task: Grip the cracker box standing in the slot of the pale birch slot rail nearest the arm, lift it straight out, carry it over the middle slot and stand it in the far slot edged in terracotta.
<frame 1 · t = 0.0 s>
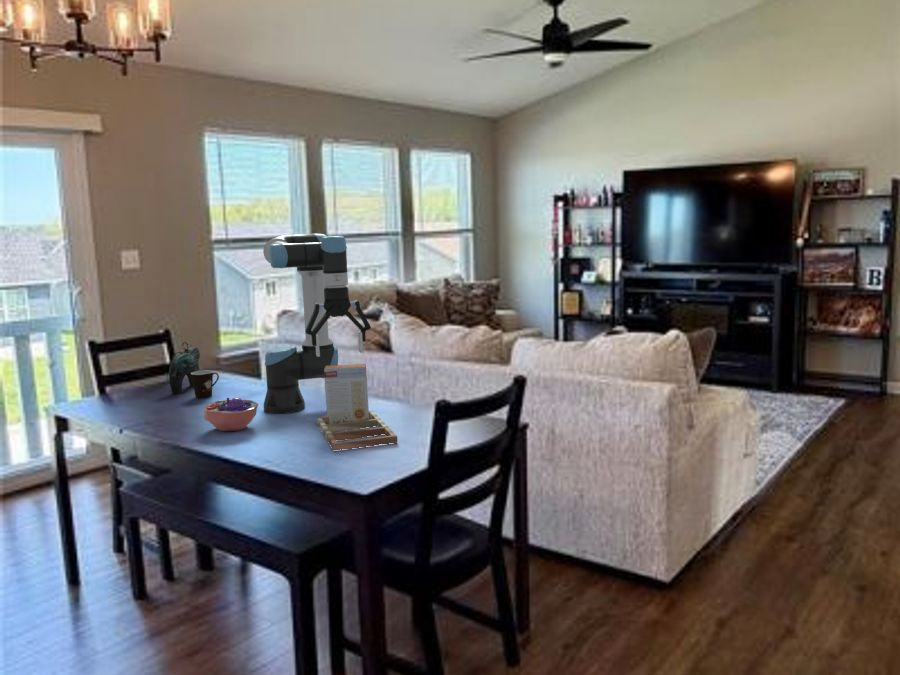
hand: (339, 354, 231), 28 cm above the table, tool pointing down, fingers open, 13 cm apart
slot rail: (355, 433, 243), on the table
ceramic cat: (187, 389, 316), on the table
cell model: (231, 429, 253), on the table
coffee mug: (207, 396, 302), on the table
cracker box: (348, 426, 253), resting in slot rail
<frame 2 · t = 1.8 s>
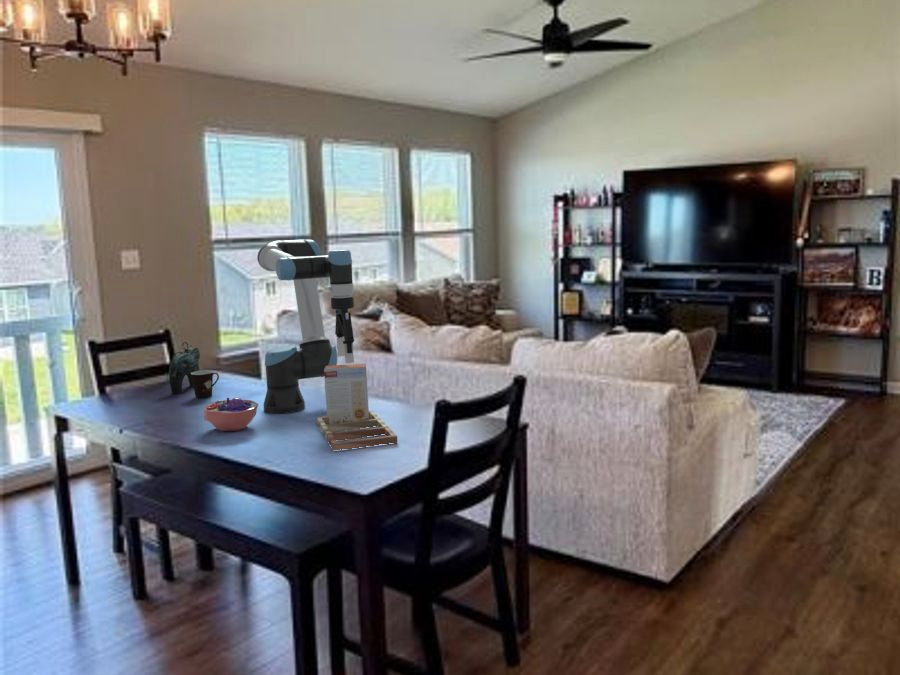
hand: (345, 359, 249), 23 cm above the table, tool pointing down, fingers open, 13 cm apart
nothing on the table moved.
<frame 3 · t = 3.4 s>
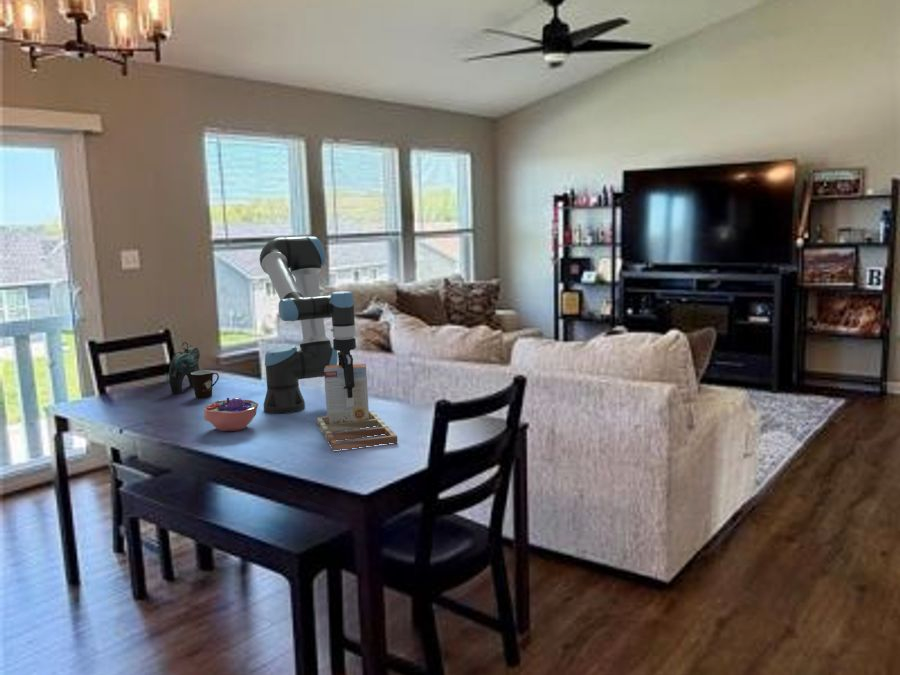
hand: (347, 403, 251), 8 cm above the table, tool pointing down, fingers open, 7 cm apart
cracker box: (348, 426, 253), resting in slot rail, touching gripper
everything else where it was.
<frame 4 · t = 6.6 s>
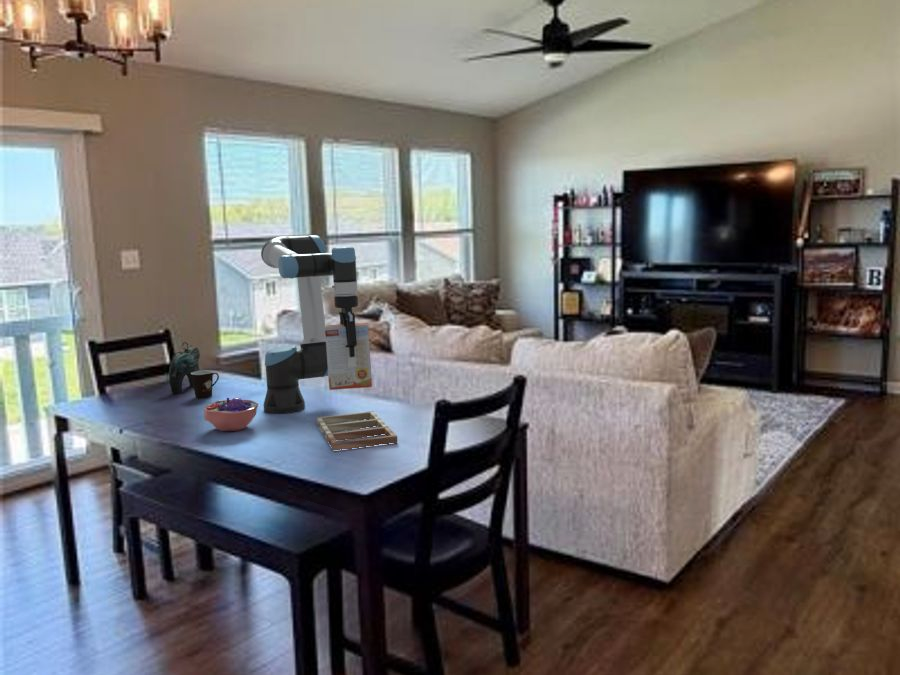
hand: (349, 364, 242), 23 cm above the table, tool pointing down, fingers closed on cracker box, 7 cm apart
cracker box: (350, 387, 244), point 15 cm above the table, touching gripper
everything else where it was.
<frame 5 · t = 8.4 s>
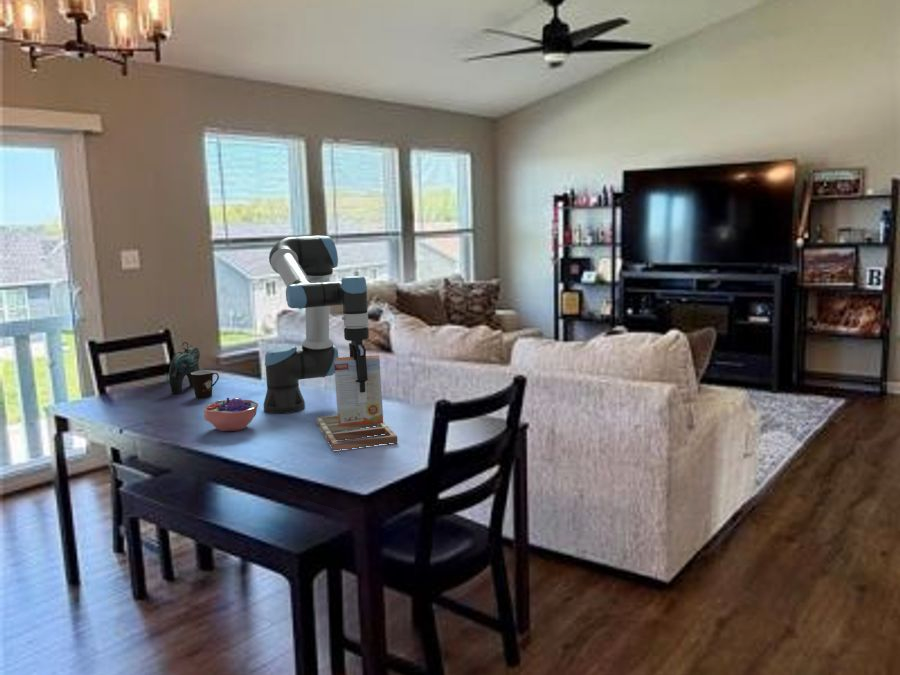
hand: (360, 399, 230), 14 cm above the table, tool pointing down, fingers closed on cracker box, 7 cm apart
cracker box: (360, 423, 232), point 6 cm above the table, touching gripper
everything else where it was.
when the fingers open (9 cm above the table, at t = 9.5 s): cracker box drops 1 cm, resting in slot rail.
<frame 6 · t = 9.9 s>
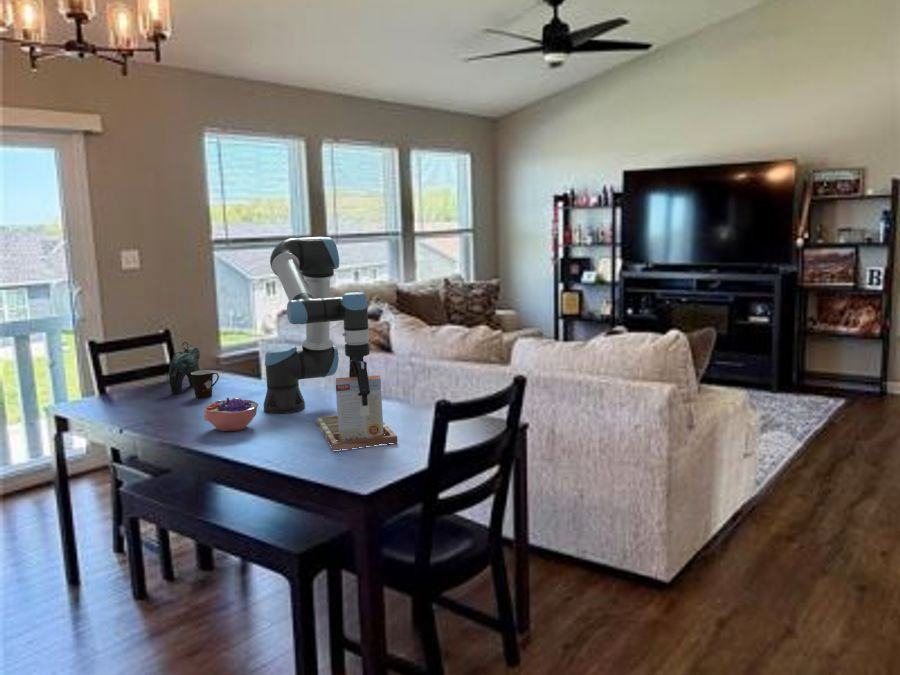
hand: (360, 410, 231), 10 cm above the table, tool pointing down, fingers open, 12 cm apart
cracker box: (361, 442, 233), resting in slot rail
everything else where it was.
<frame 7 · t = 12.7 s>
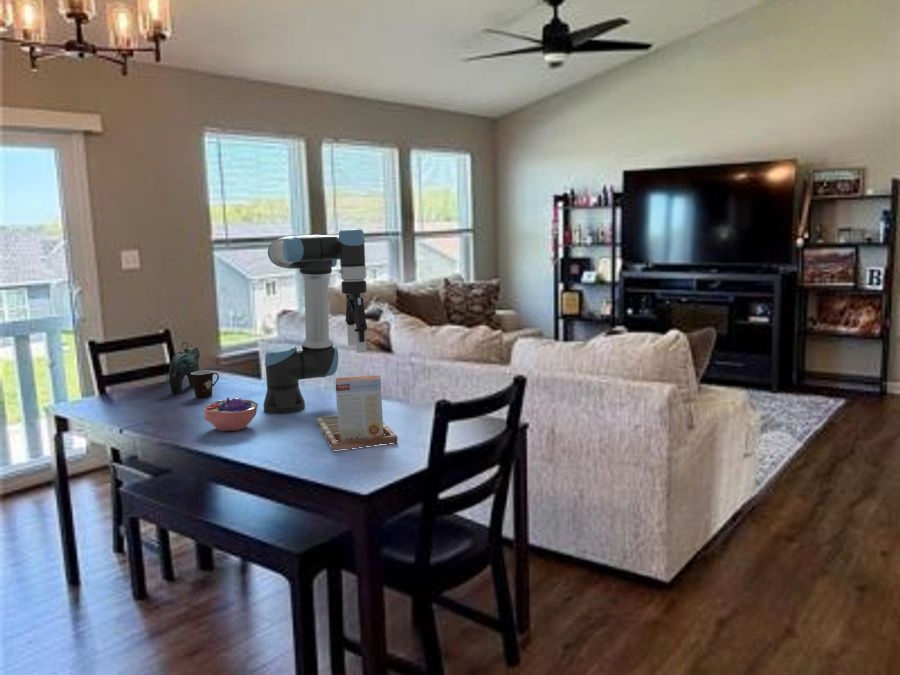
hand: (357, 348, 228), 30 cm above the table, tool pointing down, fingers open, 13 cm apart
nothing on the table moved.
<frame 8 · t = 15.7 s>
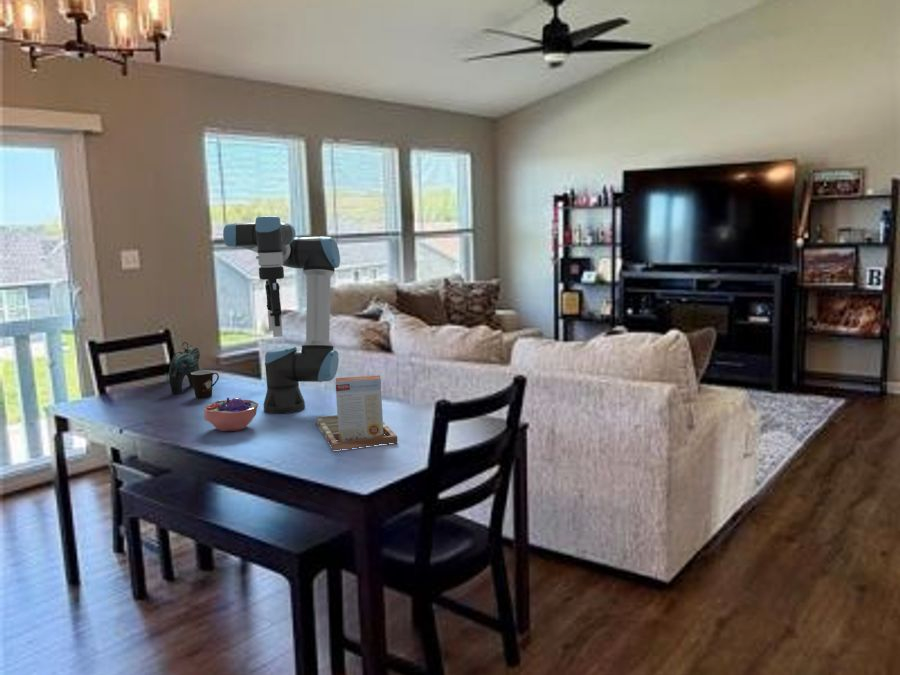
hand: (275, 333, 233), 35 cm above the table, tool pointing down, fingers open, 13 cm apart
nothing on the table moved.
at the end: cracker box 0.3 cm from the target spot on the slot rail, point 0.0 cm above the slot rail's base; cracker box tilted 0°; the gripper is holding nothing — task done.
